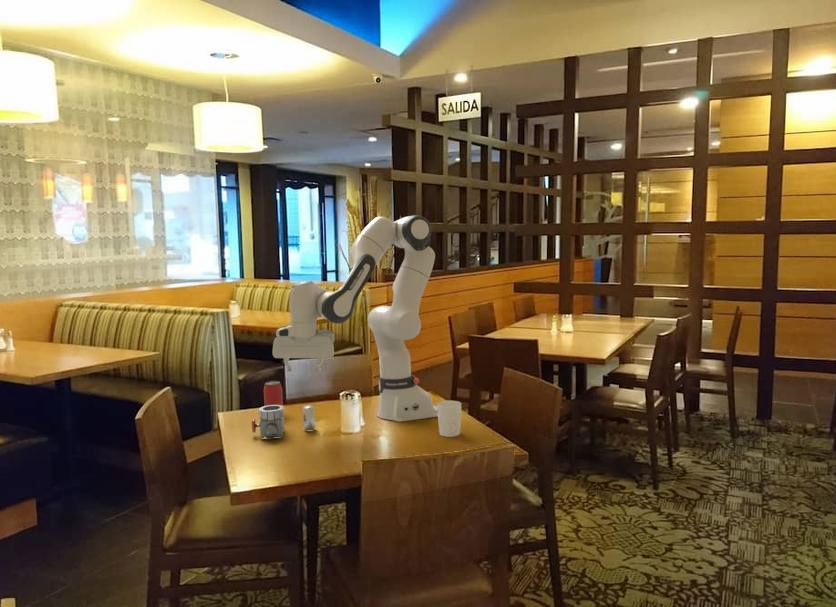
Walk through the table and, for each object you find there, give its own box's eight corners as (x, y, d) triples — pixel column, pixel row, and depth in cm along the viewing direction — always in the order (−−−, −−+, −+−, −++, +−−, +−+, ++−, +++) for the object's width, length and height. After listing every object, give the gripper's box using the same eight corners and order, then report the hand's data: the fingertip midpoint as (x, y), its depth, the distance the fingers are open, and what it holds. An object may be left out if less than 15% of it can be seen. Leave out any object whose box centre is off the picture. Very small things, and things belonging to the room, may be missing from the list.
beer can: (281, 417, 231) (279, 384, 229) (263, 417, 231) (261, 385, 229) (285, 411, 237) (283, 380, 236) (267, 412, 237) (265, 380, 236)
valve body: (285, 427, 218) (284, 401, 217) (283, 440, 204) (282, 413, 203) (255, 429, 217) (253, 404, 216) (251, 443, 203) (249, 415, 202)
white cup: (460, 438, 201) (459, 407, 200) (435, 437, 203) (434, 406, 202) (463, 430, 209) (462, 400, 208) (439, 429, 210) (439, 400, 209)
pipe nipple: (315, 427, 217) (314, 404, 216) (315, 431, 213) (314, 408, 212) (303, 428, 216) (302, 405, 215) (303, 432, 212) (302, 408, 211)
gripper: (335, 328, 215) (335, 369, 217) (274, 328, 215) (275, 369, 216) (333, 331, 209) (333, 372, 210) (271, 331, 208) (271, 373, 210)
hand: (303, 371), depth 213 cm, fingers open, 8 cm apart
